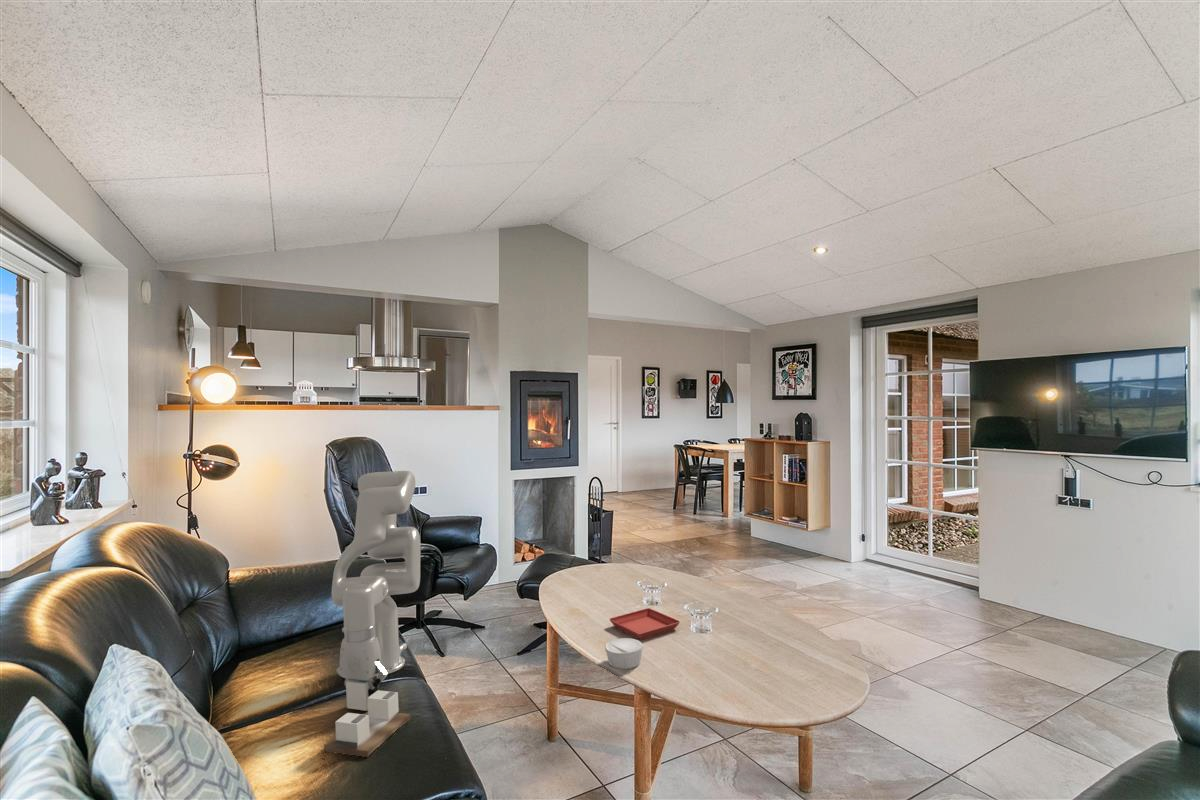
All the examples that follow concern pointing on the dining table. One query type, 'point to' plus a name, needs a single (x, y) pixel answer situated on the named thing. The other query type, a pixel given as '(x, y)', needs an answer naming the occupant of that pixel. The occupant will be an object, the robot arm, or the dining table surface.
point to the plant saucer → (644, 623)
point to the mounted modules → (367, 717)
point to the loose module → (357, 694)
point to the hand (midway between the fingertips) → (362, 699)
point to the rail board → (378, 735)
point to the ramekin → (624, 653)
